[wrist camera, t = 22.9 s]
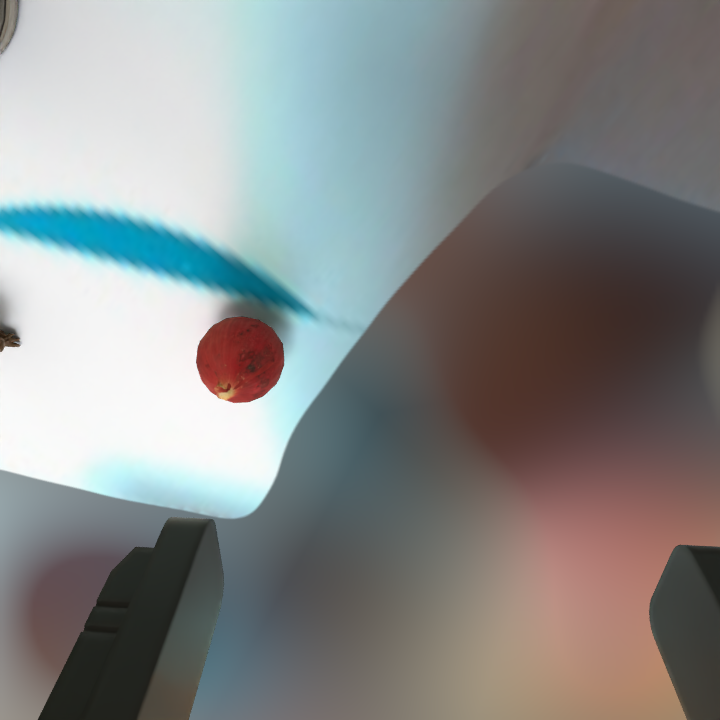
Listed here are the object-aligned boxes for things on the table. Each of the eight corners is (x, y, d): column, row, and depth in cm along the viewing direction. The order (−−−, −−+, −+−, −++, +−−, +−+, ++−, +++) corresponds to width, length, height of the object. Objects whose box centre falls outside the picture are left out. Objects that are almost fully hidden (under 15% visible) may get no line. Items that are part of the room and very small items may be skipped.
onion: (263, 284, 41) (237, 341, 34) (306, 347, 43) (289, 411, 37) (197, 317, 42) (160, 378, 36) (242, 376, 45) (215, 443, 38)
